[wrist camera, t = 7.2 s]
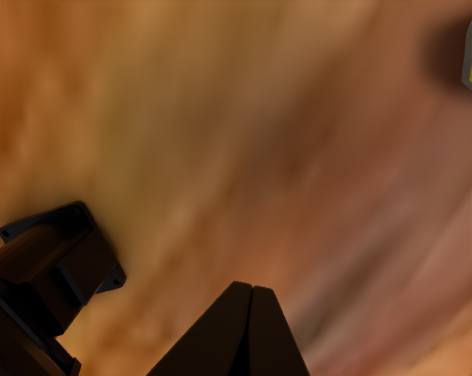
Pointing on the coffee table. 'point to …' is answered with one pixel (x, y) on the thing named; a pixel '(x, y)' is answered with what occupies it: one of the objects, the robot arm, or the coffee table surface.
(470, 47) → the yellow-green curved piece
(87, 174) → the coffee table surface
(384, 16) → the coffee table surface
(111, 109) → the coffee table surface
